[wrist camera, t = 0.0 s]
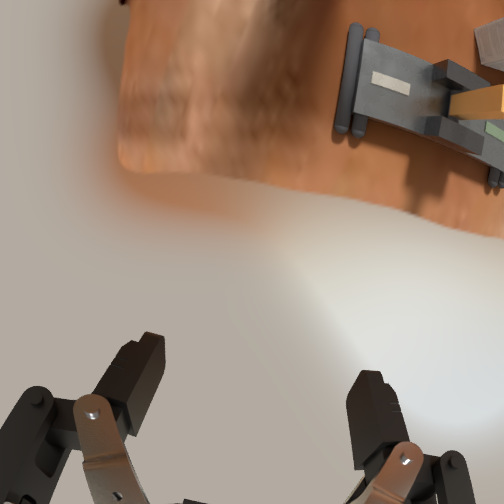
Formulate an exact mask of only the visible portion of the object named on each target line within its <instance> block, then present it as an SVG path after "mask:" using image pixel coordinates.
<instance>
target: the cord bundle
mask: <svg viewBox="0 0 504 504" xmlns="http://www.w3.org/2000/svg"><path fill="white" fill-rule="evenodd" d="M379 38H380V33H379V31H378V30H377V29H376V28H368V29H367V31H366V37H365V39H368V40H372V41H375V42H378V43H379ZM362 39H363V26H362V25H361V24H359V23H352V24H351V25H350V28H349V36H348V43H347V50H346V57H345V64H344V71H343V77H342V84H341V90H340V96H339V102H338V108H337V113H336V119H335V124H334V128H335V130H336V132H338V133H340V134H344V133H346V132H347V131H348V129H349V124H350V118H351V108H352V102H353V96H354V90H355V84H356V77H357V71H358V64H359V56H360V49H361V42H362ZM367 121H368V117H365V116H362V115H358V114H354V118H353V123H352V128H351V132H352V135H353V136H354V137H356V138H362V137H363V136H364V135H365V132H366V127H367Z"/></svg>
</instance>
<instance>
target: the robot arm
mask: <svg viewBox="0 0 504 504" xmlns="http://www.w3.org/2000/svg"><path fill="white" fill-rule="evenodd" d="M165 363H166V361H165V339H164V336H161V335H158V334H154V333H150V332H145V333H144V334H143V336H142V338H141V339H140V341H139V342H136V341H132V340H131V341H130V342H128V343H127V344H125V345H124V346H122V347H121V349H120V350H119V352H118V353H117V355H116V357H115V358H114V359H113V361H112V362H111V365H110V366H109V367H108V369H107V370H106V372H105V373H104V375H103V377H102V378H101V380H100V381H99V383H98V384H97V386H96V388H95V389H94V391H93V392H92V393H91V394H87V395H84V396H82V397H80V398H79V399H77V400H67V399H61V398H54V397H53V395H52V394H51V392H50V391H49V390H48V389H47V388H45V387H42V386H33V387H30V388H28V389H27V390H26V391H25V392H24V393H23V394H22V396H21V397H20V399H19V400H18V402H17V403H16V405H15V406H14V408H13V410H12V411H11V413H10V414H9V416H8V418H7V419H6V421H5V422H4V424H3V426H2V427H1V429H0V504H49V503H50V500H51V497H52V495H53V492H54V490H55V487H56V485H57V482H58V480H59V477H60V475H61V473H62V470H63V468H64V466H65V463H66V461H67V459H68V457H69V454H70V452H71V450H72V449H74V450H80V451H82V453H83V457H84V462H83V463H82V464H83V469H84V473H85V476H86V480H87V483H88V486H89V489H90V492H91V495H92V498H93V501H94V504H150V503H149V501H148V499H147V497H146V494H145V492H144V491H143V488H142V486H141V484H140V482H139V479H138V477H137V475H136V473H135V470H134V468H133V465H132V463H131V460H130V457H129V455H128V453H127V450H126V447H125V444H124V442H125V439H126V437H127V434H129V435H132V436H135V437H136V436H137V433H138V431H139V429H140V426H141V424H142V422H143V420H144V417H145V415H146V413H147V410H148V408H149V406H150V403H151V401H152V399H153V397H154V394H155V392H156V390H157V388H158V385H159V383H160V381H161V379H162V376H163V374H164V370H165ZM398 403H399V402H398V399H397V395H396V392H395V391H394V390H393V389H392V387H391V386H390V385H389V384H387V383H384V381H383V377H382V374H381V372H380V371H370V370H362V371H361V372H360V374H359V375H358V377H357V379H356V381H355V383H354V384H353V386H352V388H351V390H350V391H349V393H348V396H347V400H346V409H347V416H348V422H349V429H350V436H351V444H352V451H353V460H354V469H355V470H364V472H365V475H364V476H363V477H362V478H361V480H360V481H359V483H358V484H357V486H356V487H355V488H354V490H353V491H352V492H351V494H350V495H349V496H348V498H347V499H346V500H345V502H344V503H343V504H437V501H436V494H437V498H438V504H476V503H475V498H474V493H473V489H472V484H471V480H470V476H469V472H468V468H467V464H466V461H465V458H464V457H463V455H461V454H460V453H459V452H457V451H453V450H450V451H447V452H445V453H444V454H443V455H442V456H441V457H438V456H432V455H426V454H423V452H422V450H421V449H420V447H419V446H417V445H416V444H414V443H412V442H410V440H409V436H408V432H407V429H406V425H405V422H404V418H403V415H402V413H401V408H400V405H399V404H398ZM176 504H178V503H176ZM183 504H206V503H201V502H197V501H192V500H188V499H184V501H183Z"/></svg>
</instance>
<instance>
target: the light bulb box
mask: <svg viewBox="0 0 504 504" xmlns="http://www.w3.org/2000/svg"><path fill="white" fill-rule="evenodd" d="M474 32H475V37H476V41H477V45H478V50H479V55H480V60H481V65H484V66H488V67H491V68H494V69H497V70H500V71H503V72H504V17H503V18H501V19H498V20H495V21H493V22H490V23H488V24H485V25H482V26H480V27H477V28H475V29H474Z"/></svg>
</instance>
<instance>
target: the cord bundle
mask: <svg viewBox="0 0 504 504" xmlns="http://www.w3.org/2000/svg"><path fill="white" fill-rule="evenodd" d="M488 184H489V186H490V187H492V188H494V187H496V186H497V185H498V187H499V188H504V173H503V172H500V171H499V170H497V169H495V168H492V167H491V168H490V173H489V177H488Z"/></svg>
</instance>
